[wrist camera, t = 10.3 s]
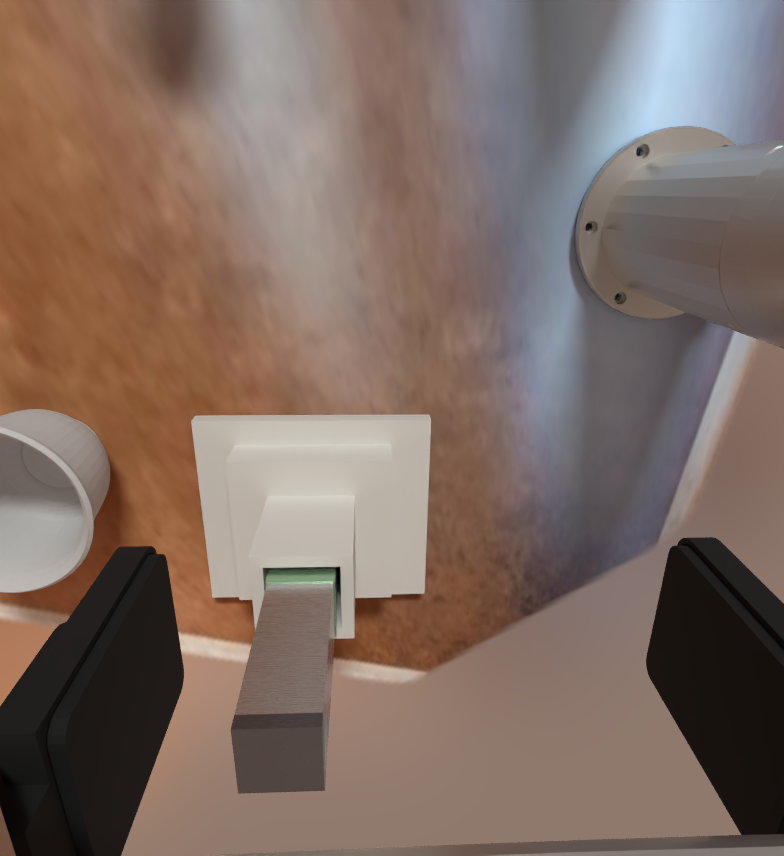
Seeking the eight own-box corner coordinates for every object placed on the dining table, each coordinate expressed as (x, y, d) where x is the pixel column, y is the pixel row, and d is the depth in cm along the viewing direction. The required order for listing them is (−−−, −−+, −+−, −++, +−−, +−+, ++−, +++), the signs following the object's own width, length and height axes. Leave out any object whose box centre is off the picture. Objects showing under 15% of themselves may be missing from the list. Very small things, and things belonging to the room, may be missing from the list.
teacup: (-54, 496, 47) (-156, 570, 38) (22, 344, 43) (-72, 386, 34) (89, 566, 50) (27, 652, 41) (173, 431, 46) (125, 492, 37)
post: (338, 526, 42) (324, 725, 26) (340, 576, 43) (326, 792, 28) (278, 527, 42) (228, 728, 26) (282, 577, 43) (236, 795, 28)
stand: (429, 414, 46) (452, 491, 34) (423, 585, 52) (440, 701, 40) (195, 415, 46) (135, 494, 34) (215, 588, 51) (171, 708, 40)
